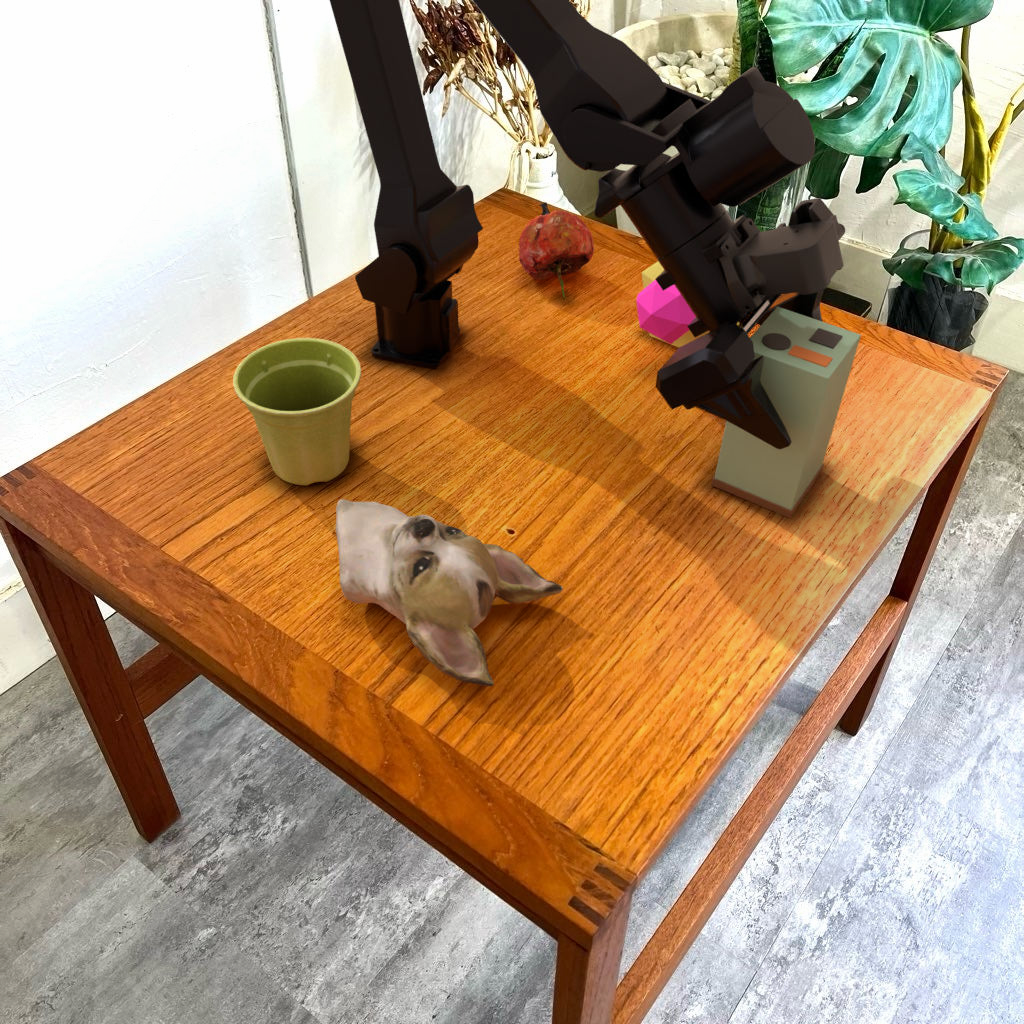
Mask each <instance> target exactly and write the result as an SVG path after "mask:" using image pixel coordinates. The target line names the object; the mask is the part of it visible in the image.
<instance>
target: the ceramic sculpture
mask: <svg viewBox="0 0 1024 1024" xmlns="http://www.w3.org/2000/svg"><path fill="white" fill-rule="evenodd" d="M335 510H336V511H335V512H336V515H335V516H336V518H335V519H336V521H335V535H336V541H337V542H336V543H337V550H338V562H339V565H338V566H339V585H340V587H341V591H342V594H343V596H344V598H346V599H347V600H348V601H350V602H352V603H354V604H359V605H360V604H376V605H379V606H380V607H382V609H384V610H385V611H387V612H389V613H390V614H391V615H393V616H395V617H396V618H397V619H398V620H400V621H401V622H402V623H404V624H405V626H406V632H407V635H408V637H409V640H410V641H411V643H412V644H413V646H414V647H415V648H416V649H418V650H419V652H420V654H421V655H422V656H423V657H424V658H425V660H426V661H428V662H429V663H431V664H432V665H433V666H434V667H435V668H436V669H437V670H438V671H439V672H441V673H442V674H444V675H446V676H449V677H452V678H453V679H455V680H457V681H460V682H464V683H467V684H473V685H478V686H485V687H493V686H494V685H495V682H494V680H493V678H492V676H491V674H490V671H489V667H488V661H487V655H486V651H485V648H484V645H483V643H482V641H481V640H480V638H479V635H478V634H477V633H476V632H475V630H474V629H475V628H477V627H478V626H479V625H480V624H481V623H482V622H483V621H485V619H486V617H487V616H488V614H489V612H490V611H491V608H492V606H493V602H494V600H495V599H494V598H495V597H497V598H499V599H501V600H502V601H504V602H507V603H509V604H515V605H516V604H517V605H518V604H519V605H520V604H525V603H528V602H533V601H538V600H540V599H544V598H547V597H552V596H554V595H555V596H556V595H558V594H560V593H561V592H562V591H563V590H564V586H562V585H561V584H558V583H556V582H554V581H551V580H547V579H546V578H545V577H543V576H542V575H540V574H539V572H538V571H536V570H535V569H534V568H533V567H531V565H529V564H526V563H525V562H524V559H523V558H521V557H519V556H518V555H517V554H516V553H514V552H513V551H509V550H506V549H504V548H503V547H502V546H500V545H498V544H490V543H483V542H482V540H480V539H479V538H478V537H476V536H473V535H469V534H468V533H467V534H466V533H465V532H464V531H463V530H462V529H460V528H457V527H455V526H451V525H448V524H445V523H443V522H440V521H437V520H436V519H435V518H434V517H432V516H430V515H427V514H419V515H416V516H411V515H410V516H408V514H405V513H404V512H403V511H401V510H400V509H398V508H396V507H393V506H391V505H387V504H384V503H380V502H378V501H351V500H347V499H343V498H342V499H339V500H338V501H337V503H336V507H335Z"/></svg>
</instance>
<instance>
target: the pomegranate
mask: <svg viewBox="0 0 1024 1024" xmlns="http://www.w3.org/2000/svg"><path fill="white" fill-rule="evenodd" d="M538 206H539V207H541V210H542V211H541V214H540V215H536V216H535V217H533V218H532V219H531V220H530V221H528V222H527V223H526V224H525V226H524V228H523V229H522V232H521V233H520V237H519V242H518V261H519V263H520V265H521V266H522V269H523V270H524V271H525V273H527V275H528V276H529V277H531V278H532V279H534V280H544V279H547V278H549V277H551V276H554V275H555V276H556V275H557V278H558V282H559V284H560V289H561V294H562V299H563V300H565V299H566V298H565V290H564V285H565V282H564V280H563V278H562V276H566V275H570V274H575V273H578V272H579V271H581V269H582V268H583V267H584V266H586V265H587V264H588V263H589V262H590V261H591V260H592V258H593V255H594V253H595V247H594V246H595V241H594V237H593V234H592V232H591V230H590V228H589V227H588V225H587V224H586V223H585V221H584V220H583V219H581V218H580V217H579V216H577V215H576V214H573V213H569V212H567V211H564V210H557V209H556V210H552V211H551V212H550V210H549V207H548V203H547V202H546V201H544V202H542V203H540V204H538Z"/></svg>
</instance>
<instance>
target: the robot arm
mask: <svg viewBox="0 0 1024 1024" xmlns="http://www.w3.org/2000/svg"><path fill="white" fill-rule="evenodd" d="M471 1H472V2H473V4H474V5H475V6H476V8H477V9H478V10H479V11H480V12H481V14H482V15H483V17H485V19H486V20H487V21H488V22H489V24H491V26H492V27H493V29H494V30H495V31H496V32H497V33H498V35H499V36H500V37H501V38H502V40H503V41H504V42H505V43H506V45H507V46H508V47H509V48H510V50H511V52H513V53H514V55H515V56H516V57H517V58H518V60H519V61H520V62H521V63H522V65H523V66H524V68H525V70H526V71H527V73H528V75H529V76H530V78H531V79H532V82H533V85H534V89H535V94H536V99H537V103H538V106H539V112H540V114H541V116H542V119H543V120H544V122H545V123H546V125H547V126H548V128H549V130H550V132H551V133H552V135H553V137H554V138H555V140H556V141H557V144H558V145H559V146H560V149H561V150H562V151H563V153H564V154H565V157H567V159H568V160H570V161H571V163H573V164H574V165H575V166H576V167H578V168H580V169H581V170H583V171H588V170H589V171H594V172H599V173H603V172H605V173H604V174H603V175H601V176H599V178H598V180H597V184H598V193H597V198H596V201H595V205H594V210H593V211H594V212H593V214H594V216H595V218H597V219H603V218H604V217H605V216H607V215H608V214H610V213H612V212H613V211H614V210H615V209H617V208H618V207H620V206H621V208H622V209H623V211H624V212H625V214H626V216H627V217H628V219H629V220H630V222H631V223H632V224H633V226H634V227H635V229H636V230H637V232H638V234H639V235H640V236H641V238H642V239H643V241H644V242H645V244H646V245H647V246H648V248H649V250H650V251H651V252H652V254H653V255H654V257H655V258H656V259H657V262H658V261H659V263H660V264H661V266H662V267H663V269H664V271H663V272H662V273H661V274H660V275H659V276H658V277H657V278H656V279H655V280H656V281H657V282H658V284H659V285H660V287H661V288H662V290H665V289H667V288H669V287H670V286H672V285H675V287H676V288H677V290H678V291H679V293H680V294H681V296H682V297H683V298H684V300H685V301H686V303H687V304H688V306H689V307H690V309H691V310H692V312H693V313H694V315H695V316H696V317H695V318H694V319H693V321H692V322H691V323H690V324H689V325H688V326H687V327H688V328H689V330H690V331H691V333H692V334H693V336H694V337H697V336H699V335H701V334H703V333H705V332H707V331H710V332H709V333H707V334H705V335H703V336H701V337H699V338H697V339H695V340H693V341H691V342H689V343H687V344H685V345H683V346H681V347H680V348H679V347H677V349H676V350H675V351H674V352H673V354H671V356H670V357H669V358H668V359H667V360H666V361H665V363H664V364H662V365H661V367H659V369H658V370H657V372H656V380H655V385H654V386H655V388H656V390H657V392H658V393H659V394H660V396H661V397H662V399H663V400H664V401H665V403H666V404H667V406H668V407H669V408H670V409H671V410H675V409H677V408H679V407H681V406H683V408H685V409H686V410H687V411H689V410H691V409H694V408H698V409H700V410H702V411H704V412H706V413H708V414H711V415H713V416H715V417H717V418H719V419H722V420H724V421H725V422H726V421H728V422H730V423H732V424H733V425H735V426H737V427H739V428H741V429H743V430H744V431H746V432H748V433H750V434H752V435H753V436H755V437H757V438H759V439H761V440H762V441H764V442H766V443H768V444H769V445H771V446H773V447H775V448H777V449H783V448H786V447H788V446H790V444H791V442H792V441H791V439H790V436H789V434H788V432H787V430H786V428H785V425H784V424H783V422H782V420H781V418H780V416H779V415H778V413H777V411H776V409H775V407H774V406H773V404H772V402H771V400H770V398H769V397H768V395H767V393H766V391H765V389H764V388H763V386H762V384H761V381H760V378H761V372H762V367H763V361H764V356H760V357H758V358H756V359H754V358H755V356H754V347H753V342H752V340H751V339H750V337H751V336H749V334H750V332H751V331H752V330H753V329H754V328H755V326H756V325H759V327H760V326H761V325H762V324H763V322H764V321H765V320H766V319H767V318H768V317H769V316H770V314H771V313H772V312H773V311H774V310H775V309H776V308H777V307H780V308H783V309H786V310H789V311H792V312H795V313H798V314H801V315H804V316H807V317H810V318H813V319H816V320H819V321H822V322H824V321H823V317H822V313H821V300H822V298H823V294H824V291H825V289H826V288H828V286H829V285H830V284H831V282H832V278H833V277H834V275H835V274H836V273H837V271H841V270H842V269H843V268H844V266H845V265H844V259H843V255H842V250H841V246H840V245H841V244H840V240H841V238H843V236H844V235H845V234H846V227H845V225H843V224H842V223H839V221H838V217H837V214H834V213H833V212H832V211H831V210H830V208H829V207H828V206H827V204H826V203H825V202H824V201H823V199H822V198H821V197H816V198H811V199H804V200H801V201H800V202H798V204H797V205H796V206H794V208H793V209H792V211H791V213H790V217H789V221H788V225H787V223H786V222H781V223H779V224H778V226H777V227H776V228H774V229H770V230H764V231H761V230H760V229H759V228H758V227H757V225H756V223H755V221H753V219H752V218H751V217H746V215H745V214H743V215H741V216H739V217H737V218H735V219H734V220H733V218H732V217H731V215H730V213H729V212H728V211H727V209H726V208H725V206H727V207H734V208H735V207H738V206H741V205H742V204H744V203H746V202H747V201H749V200H750V199H752V198H753V197H755V196H757V195H758V194H760V193H762V192H763V191H766V190H767V189H768V188H770V187H771V186H773V185H774V184H777V183H778V182H779V181H781V180H783V179H784V178H786V177H788V176H789V175H791V174H792V173H794V172H796V171H798V170H800V169H801V168H803V167H804V166H806V165H807V164H809V163H811V161H812V160H813V158H814V156H815V151H816V140H815V134H814V129H813V125H812V123H811V120H810V119H809V118H810V117H809V116H808V114H807V112H806V110H805V108H804V107H803V105H802V104H801V102H800V101H799V99H797V98H793V97H792V96H791V95H790V94H789V92H787V91H786V90H785V89H784V88H783V87H781V86H780V85H778V84H776V83H775V82H771V81H766V80H765V78H764V76H763V75H762V74H761V72H760V70H759V69H758V67H756V66H752V67H750V68H749V69H748V70H747V71H745V72H744V73H742V74H741V75H740V76H738V77H736V79H734V80H733V81H732V82H730V83H729V84H728V85H727V86H726V87H725V88H724V90H722V92H721V94H719V95H718V96H716V97H715V98H714V99H712V100H709V99H707V98H704V97H702V96H700V95H697V94H694V93H692V92H690V91H687V90H685V89H682V88H680V87H677V86H675V85H672V84H670V83H667V82H665V81H663V80H662V78H661V76H660V75H659V74H658V73H657V71H655V70H654V69H653V68H652V67H651V66H650V65H649V64H648V63H647V62H646V61H645V60H644V59H642V58H641V57H640V56H639V55H638V54H637V53H636V52H635V51H634V50H633V49H632V48H630V47H629V46H628V45H627V44H626V43H625V42H624V41H623V40H621V39H618V38H616V37H614V36H612V35H611V34H609V33H606V32H605V31H604V30H601V29H599V28H597V27H595V26H594V25H592V23H590V22H589V20H587V19H586V18H585V17H584V16H583V15H581V13H580V12H579V11H578V10H577V8H576V7H575V6H574V5H573V4H572V2H571V1H570V0H471ZM329 3H330V7H331V10H332V14H333V18H334V21H335V24H336V25H335V26H336V29H337V33H338V36H339V39H340V43H341V46H342V50H343V53H344V57H345V61H346V64H347V68H348V71H349V75H350V79H351V82H352V86H353V89H354V93H355V96H356V100H357V104H358V107H359V110H360V114H361V118H362V123H363V125H364V128H365V132H366V136H367V140H368V143H369V146H370V149H371V150H370V151H371V155H372V158H373V160H374V164H375V168H376V171H377V175H378V178H379V179H378V180H379V193H378V198H377V204H376V209H375V215H374V220H373V229H374V236H375V243H376V248H377V254H378V256H377V257H376V258H375V259H374V260H372V261H371V262H370V263H369V264H368V265H366V266H365V267H364V268H363V269H361V270H360V271H359V272H358V273H357V274H355V276H354V280H355V282H356V284H357V285H356V286H357V288H358V290H359V293H360V296H361V298H362V299H363V300H365V301H367V302H370V303H373V304H374V311H375V312H374V313H375V321H376V322H375V323H376V332H377V341H376V342H375V344H374V345H373V346H372V348H371V350H370V354H371V356H372V357H374V358H377V359H382V360H388V361H392V362H393V361H394V362H398V363H404V364H408V365H413V366H418V367H419V366H420V367H425V368H429V369H438V368H439V367H440V366H441V364H442V363H443V361H444V359H445V358H446V356H447V355H448V354H449V353H451V352H452V349H453V348H454V346H455V345H456V343H457V341H458V340H459V338H460V334H461V327H460V325H459V301H458V299H456V298H453V282H452V281H451V280H449V279H451V278H452V277H454V276H455V275H458V274H459V273H461V272H462V270H463V267H464V265H465V264H466V263H467V262H468V261H470V260H471V259H472V258H473V256H474V254H475V253H476V250H478V248H479V241H480V240H479V233H480V232H481V231H483V229H484V227H483V226H482V223H481V222H480V220H479V218H478V215H477V212H476V207H475V198H474V196H475V195H474V191H473V189H472V188H471V186H470V185H469V184H463V185H459V186H458V185H456V183H454V181H453V180H452V179H451V178H450V177H449V176H448V174H446V173H445V172H444V171H443V170H442V168H441V166H440V163H439V158H438V155H437V151H436V147H435V143H434V138H433V135H432V130H431V126H430V122H429V118H428V114H427V110H426V105H425V102H424V98H423V93H422V89H421V85H420V80H419V77H418V72H417V69H416V65H415V61H414V57H413V56H414V55H413V53H412V48H411V45H410V44H411V43H410V40H409V36H408V31H407V28H406V23H405V20H404V16H403V12H402V11H403V10H402V7H401V3H400V0H329ZM671 147H674V148H675V150H677V153H675V154H674V155H669V154H667V153H665V152H666V151H667V150H669V149H670V148H671ZM620 165H627V166H630V168H628V169H627V170H622V169H619V168H617V167H619V166H620ZM738 322H739V323H740V324H739V325H737V323H738ZM753 359H754V360H753Z"/></svg>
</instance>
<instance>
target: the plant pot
mask: <svg viewBox="0 0 1024 1024" xmlns="http://www.w3.org/2000/svg"><path fill="white" fill-rule="evenodd" d="M361 377H362V367H361V363H360V360H359V358H357V356H356V355H355V353H354V352H352V351H351V350H350V349H348V348H347V347H345V346H344V345H341V344H340V343H338V342H335V341H331V340H328V339H323V338H317V337H315V338H314V337H296V338H287V339H283V340H278V341H273V342H271V343H268V344H266V345H264V346H260V348H257V349H256V350H253V351H252V352H251V353H248V355H247V356H245V357H244V358H243V359H242V361H241V362H240V363H239V364H238V365H237V367H236V370H235V371H234V374H233V378H232V384H233V389H234V391H235V394H236V395H237V397H238V398H239V400H240V401H241V402H242V403H243V404H245V406H246V408H247V410H248V412H249V413H251V415H252V418H253V420H254V423H255V424H256V427H257V430H258V433H259V436H260V438H261V441H262V444H263V447H264V449H265V452H266V454H267V457H268V460H269V463H270V465H271V468H272V470H273V472H274V473H275V475H276V476H277V477H279V478H280V479H281V480H283V481H284V482H286V483H290V484H292V485H298V486H309V485H311V484H314V483H319V482H329V481H332V480H334V479H335V478H337V477H338V476H340V475H341V474H342V473H343V472H344V471H345V469H346V468H347V466H348V463H349V461H350V445H351V427H352V425H351V424H352V423H351V422H352V407H353V400H354V399H355V398H354V397H355V395H356V390H357V387H358V386H359V384H360V381H361Z"/></svg>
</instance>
